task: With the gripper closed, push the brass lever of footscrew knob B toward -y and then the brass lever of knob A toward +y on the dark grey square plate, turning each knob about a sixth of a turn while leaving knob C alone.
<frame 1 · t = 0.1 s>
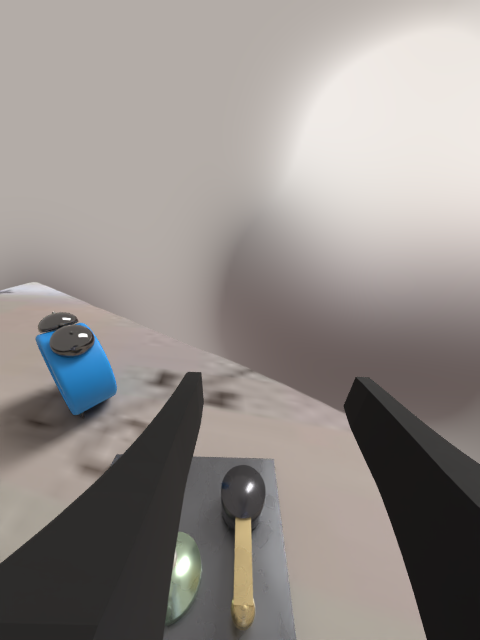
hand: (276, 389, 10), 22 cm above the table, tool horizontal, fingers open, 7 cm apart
dark grey square plate: (173, 580, 19), on the table
knob B: (242, 534, 19), point 3 cm above the table, hinge at 0.0°
alarm clock: (91, 399, 37), on the table
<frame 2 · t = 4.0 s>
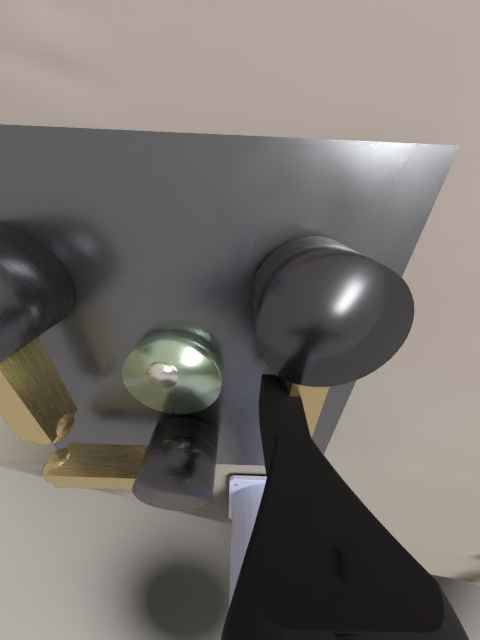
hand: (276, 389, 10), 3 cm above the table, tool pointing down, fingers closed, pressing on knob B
dark grey square plate: (182, 354, 13), on the table
knob C: (133, 461, 13), point 3 cm above the table, hinge at 0.0°
knob A: (16, 357, 9), point 3 cm above the table, hinge at 0.0°
knob B: (301, 368, 9), point 3 cm above the table, hinge at 0.4°, touching gripper
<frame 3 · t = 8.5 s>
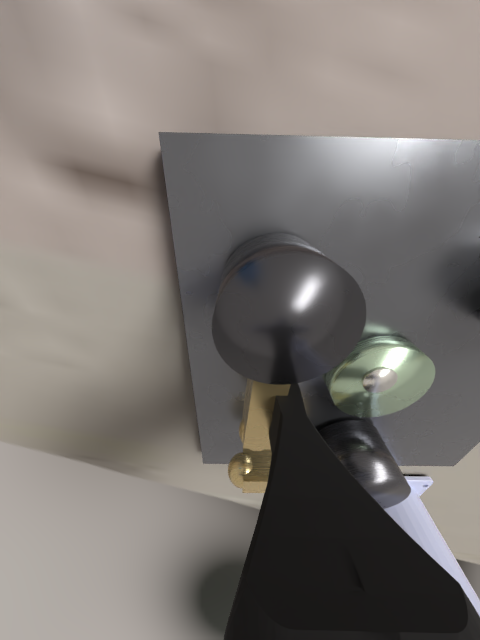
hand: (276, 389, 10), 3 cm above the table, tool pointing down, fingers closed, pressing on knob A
dark grey square plate: (360, 358, 13), on the table
knob C: (309, 464, 13), point 3 cm above the table, hinge at 0.0°
knob A: (267, 366, 9), point 3 cm above the table, hinge at -3.4°, touching gripper
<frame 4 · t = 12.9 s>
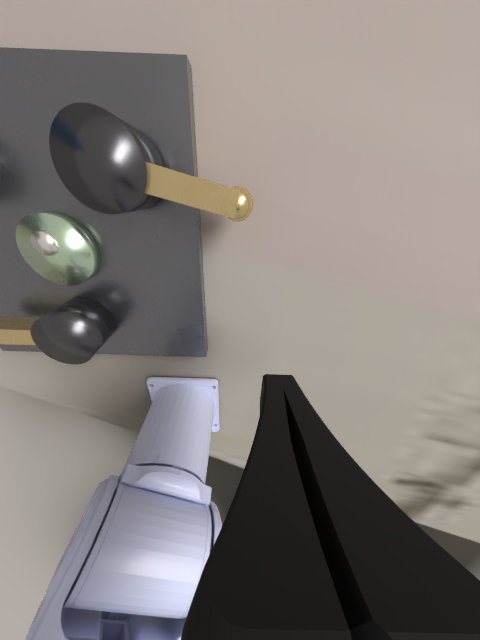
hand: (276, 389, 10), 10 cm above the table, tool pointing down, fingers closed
dark grey square plate: (76, 245, 17), on the table
knob C: (41, 329, 17), point 3 cm above the table, hinge at 0.0°
knob B: (166, 183, 12), point 3 cm above the table, hinge at 77.1°
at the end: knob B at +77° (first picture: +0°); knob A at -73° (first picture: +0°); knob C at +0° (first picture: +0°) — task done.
